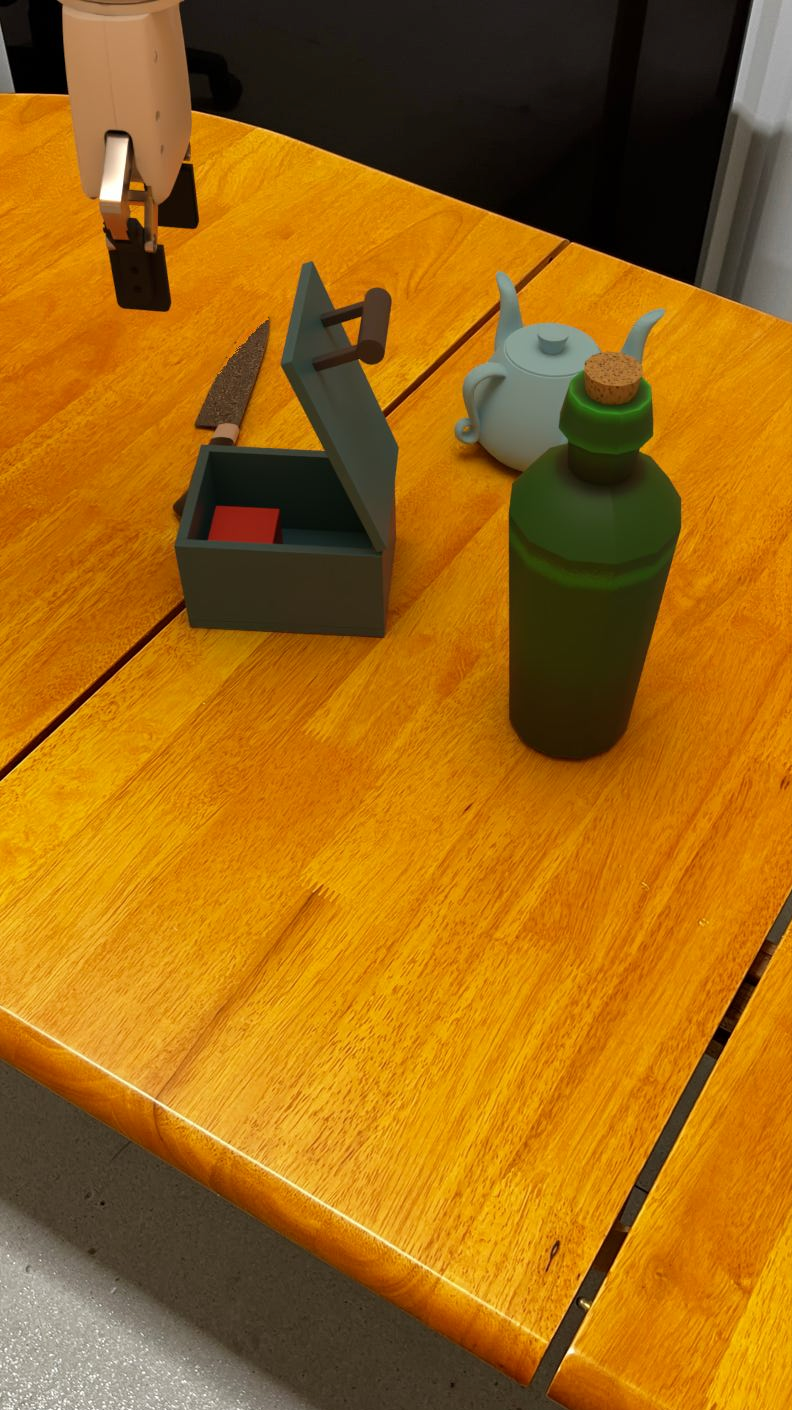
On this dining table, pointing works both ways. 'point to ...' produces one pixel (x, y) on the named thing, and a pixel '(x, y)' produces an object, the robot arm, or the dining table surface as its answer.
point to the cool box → (281, 548)
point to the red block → (246, 525)
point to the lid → (345, 394)
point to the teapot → (530, 381)
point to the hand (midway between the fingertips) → (160, 265)
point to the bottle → (588, 564)
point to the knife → (230, 396)
